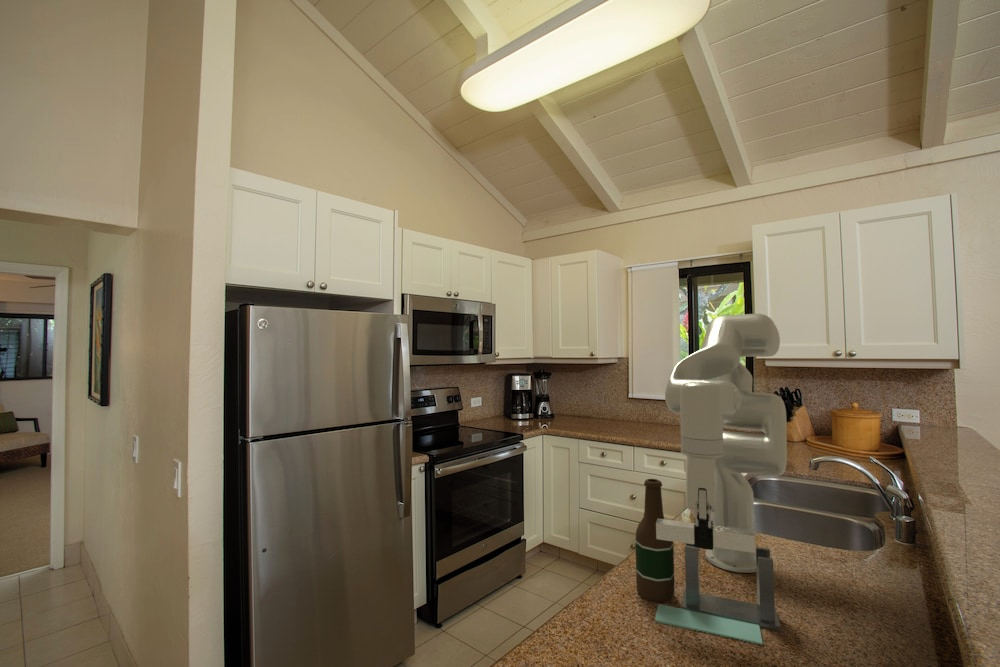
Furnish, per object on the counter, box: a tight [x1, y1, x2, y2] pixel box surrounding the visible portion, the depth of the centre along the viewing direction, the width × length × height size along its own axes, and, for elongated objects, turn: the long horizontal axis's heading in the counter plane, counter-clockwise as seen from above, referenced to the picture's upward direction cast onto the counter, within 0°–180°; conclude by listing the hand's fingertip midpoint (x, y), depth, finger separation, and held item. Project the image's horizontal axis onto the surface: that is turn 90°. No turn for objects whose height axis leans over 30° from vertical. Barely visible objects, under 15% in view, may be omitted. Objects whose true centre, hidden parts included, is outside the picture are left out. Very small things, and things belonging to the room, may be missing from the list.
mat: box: [654, 603, 763, 646], centre depth 87 cm, size 6×18×1 cm, turn 66°
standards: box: [681, 543, 782, 632], centre depth 91 cm, size 7×17×12 cm, turn 66°
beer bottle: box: [635, 478, 675, 604], centre depth 99 cm, size 8×8×24 cm
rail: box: [656, 518, 757, 554], centre depth 87 cm, size 3×17×3 cm, turn 66°
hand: (703, 543), depth 87 cm, fingers closed on rail, 3 cm apart
